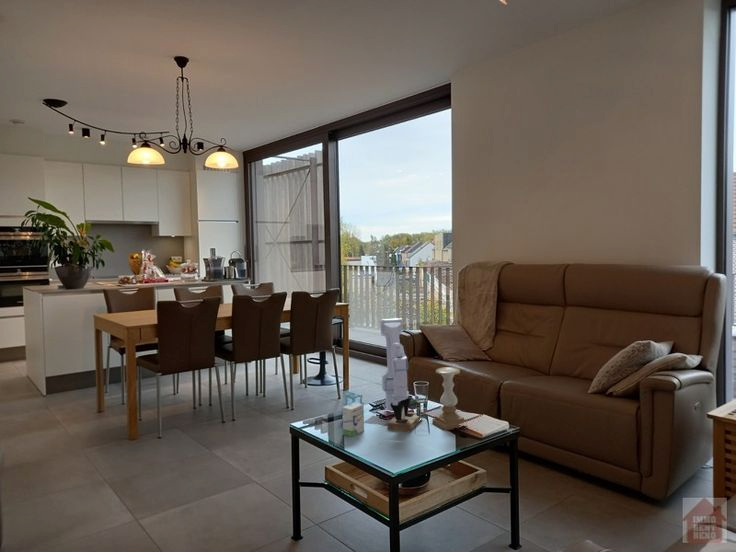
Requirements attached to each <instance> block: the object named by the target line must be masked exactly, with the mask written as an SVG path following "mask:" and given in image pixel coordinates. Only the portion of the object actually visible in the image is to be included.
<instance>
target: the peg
mask: <svg viewBox="0 0 736 552" xmlns="http://www.w3.org/2000/svg"><path fill="white" fill-rule="evenodd" d="M398 422H399V423H405V415H404V406H403V409H402V418H401V420H398Z"/></svg>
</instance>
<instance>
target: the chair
mask: <svg viewBox="0 0 736 552" xmlns="http://www.w3.org/2000/svg"><path fill="white" fill-rule="evenodd" d="M357 398H360V399H359V401H358V400H356V399H357ZM348 399H350V401H348ZM362 399H363V395H362V394H358V393H354V392H351V391H350V392H347V393H346V394H344V400H345V402H343V406H347V405H349V404H352V403H360V404H363V406H364V404H365V403H364V402H363V400H362ZM341 418H342V419H343V416H341Z"/></svg>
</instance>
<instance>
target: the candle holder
mask: <svg viewBox="0 0 736 552" xmlns="http://www.w3.org/2000/svg"><path fill="white" fill-rule="evenodd" d="M460 372H461V370H460V369H459V368H458V367H452V366H446V367H445V366H444V367H439V368H436V370H435V373H437V374H438V375H441V376H442V378H443V382H442V387H443V390H444V392H443V393H442V395H441V397H440V400H439V401H440V404H441V405H442V407H441V411H442V413H440V414H438V415H437V414H436V415H435V416H434V418H432V424H433V425H435V426H436V427H438V428H440V429H442V430H444V431H452V430H455V429H454V428H455V427H456V426H457V425H458V424H460V423H463V422H467V421H466V420H465V417H463V416H461V415H460V414H458V413H457V407H456V405H457V404H458V397H457V396H456V395H455V394H456V393H454V391H453V389H454V386H455V383H454V381H453V378H454V377H455V375H458V374H460Z"/></svg>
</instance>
